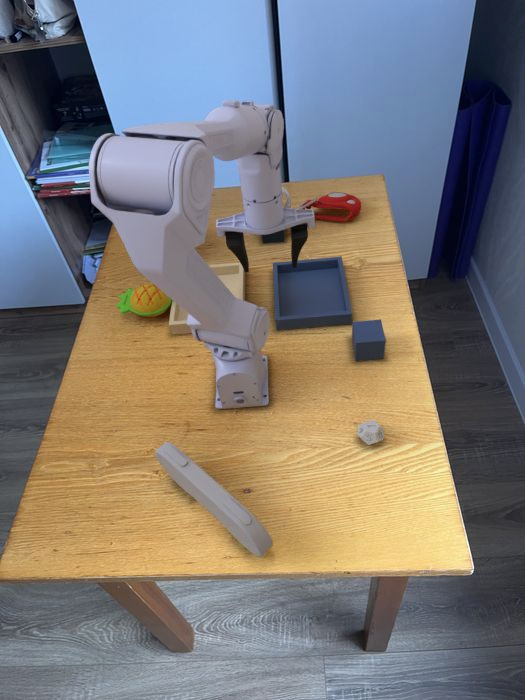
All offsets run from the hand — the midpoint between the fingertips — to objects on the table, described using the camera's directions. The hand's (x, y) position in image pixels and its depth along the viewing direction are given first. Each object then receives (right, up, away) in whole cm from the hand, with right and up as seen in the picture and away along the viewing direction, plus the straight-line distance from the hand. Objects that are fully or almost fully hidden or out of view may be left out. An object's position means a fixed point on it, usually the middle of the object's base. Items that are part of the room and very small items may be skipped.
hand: (270, 266), depth 82 cm
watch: (+1, +10, +21) cm, 23 cm away
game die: (+14, -26, -11) cm, 31 cm away
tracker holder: (+13, +15, +24) cm, 31 cm away
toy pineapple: (-22, -7, +10) cm, 25 cm away
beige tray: (-11, -5, +10) cm, 15 cm away
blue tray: (+7, -4, +8) cm, 12 cm away
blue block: (+15, -13, -1) cm, 20 cm away
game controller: (-7, -34, -16) cm, 39 cm away
